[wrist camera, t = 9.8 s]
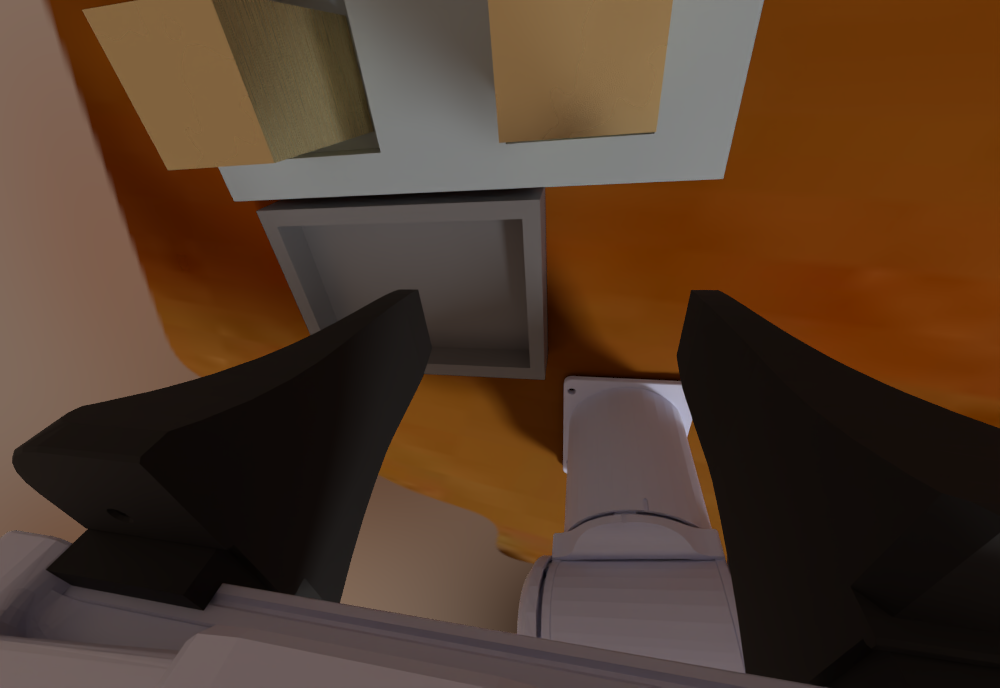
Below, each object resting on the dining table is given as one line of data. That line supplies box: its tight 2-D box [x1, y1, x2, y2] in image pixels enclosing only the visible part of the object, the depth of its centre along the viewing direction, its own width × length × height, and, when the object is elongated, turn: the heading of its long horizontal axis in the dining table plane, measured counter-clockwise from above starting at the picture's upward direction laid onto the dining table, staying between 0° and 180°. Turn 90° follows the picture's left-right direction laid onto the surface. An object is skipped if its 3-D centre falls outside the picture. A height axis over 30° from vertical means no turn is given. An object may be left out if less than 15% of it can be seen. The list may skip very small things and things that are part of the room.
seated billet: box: [488, 0, 673, 143], centre depth 12 cm, size 4×4×7 cm
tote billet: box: [82, 0, 374, 170], centre depth 14 cm, size 4×4×7 cm
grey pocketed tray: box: [218, 0, 764, 201], centre depth 15 cm, size 9×22×2 cm, turn 95°
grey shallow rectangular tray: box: [256, 187, 548, 380], centre depth 22 cm, size 10×14×2 cm
